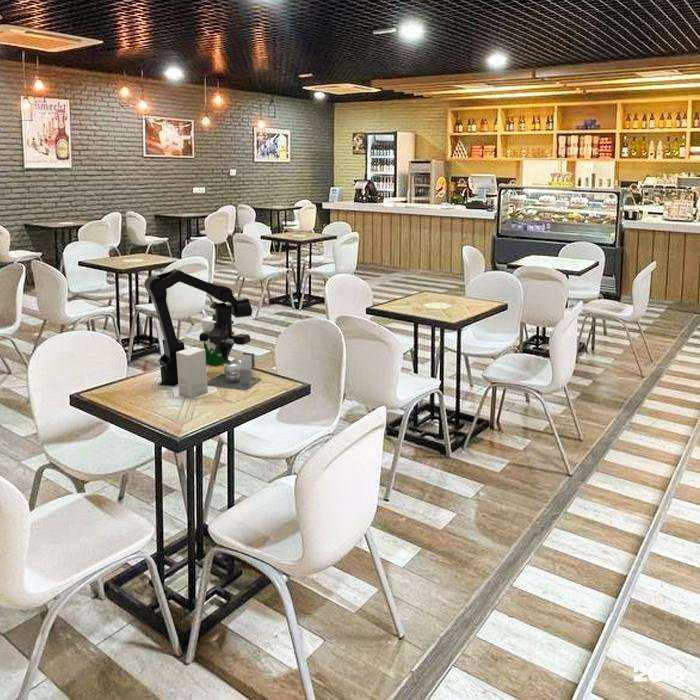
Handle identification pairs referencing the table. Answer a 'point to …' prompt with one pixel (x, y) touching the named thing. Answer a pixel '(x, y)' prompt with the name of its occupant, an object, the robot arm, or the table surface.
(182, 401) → the table surface
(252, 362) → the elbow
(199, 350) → the skincare box
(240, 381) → the base
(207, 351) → the milk carton
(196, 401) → the table surface
